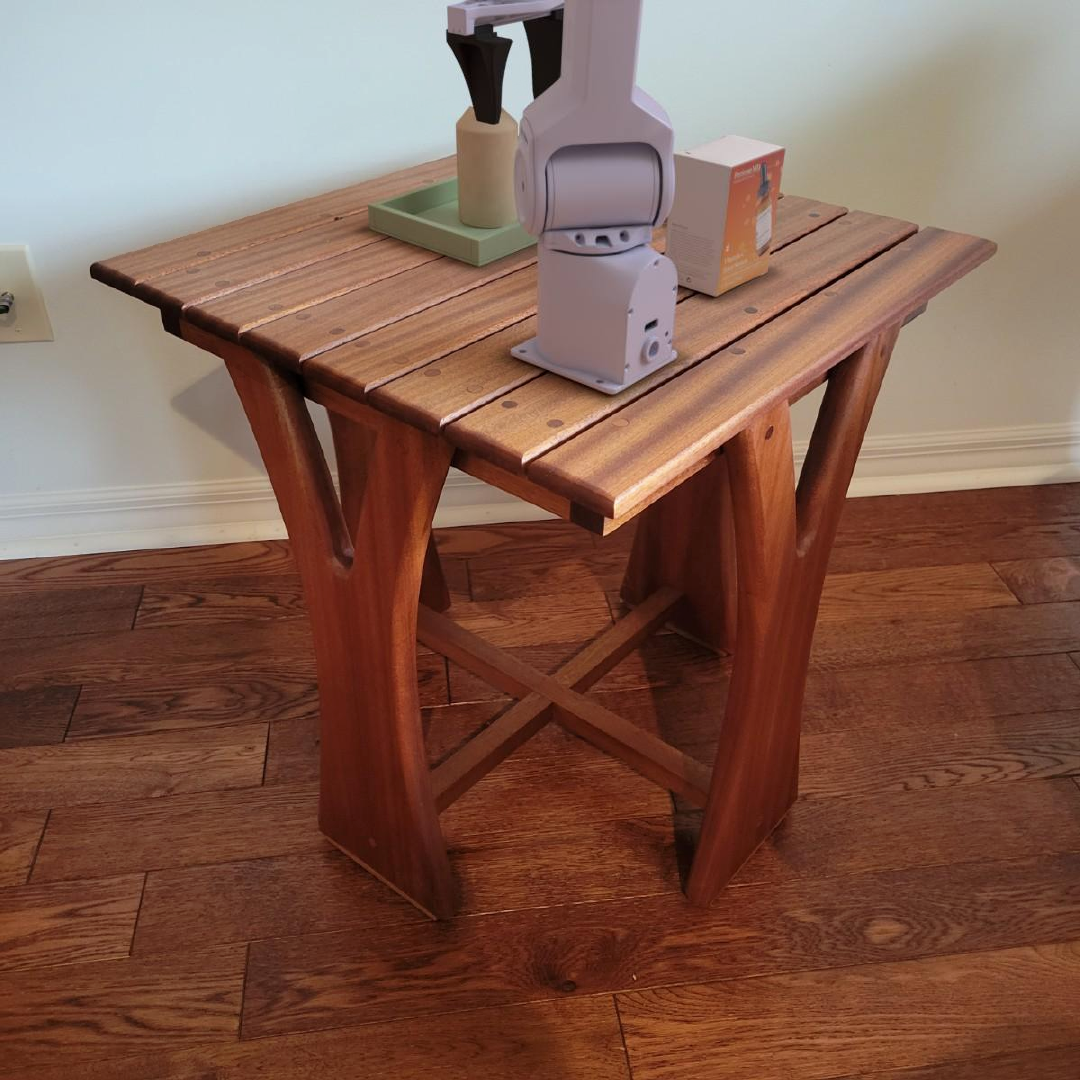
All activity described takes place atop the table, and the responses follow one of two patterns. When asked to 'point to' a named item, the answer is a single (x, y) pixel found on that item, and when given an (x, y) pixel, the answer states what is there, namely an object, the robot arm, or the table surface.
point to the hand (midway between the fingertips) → (517, 113)
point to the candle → (486, 170)
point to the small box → (723, 212)
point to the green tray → (444, 225)
